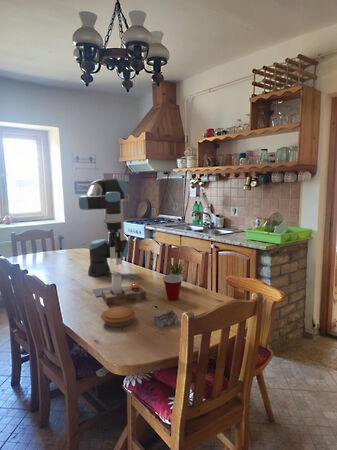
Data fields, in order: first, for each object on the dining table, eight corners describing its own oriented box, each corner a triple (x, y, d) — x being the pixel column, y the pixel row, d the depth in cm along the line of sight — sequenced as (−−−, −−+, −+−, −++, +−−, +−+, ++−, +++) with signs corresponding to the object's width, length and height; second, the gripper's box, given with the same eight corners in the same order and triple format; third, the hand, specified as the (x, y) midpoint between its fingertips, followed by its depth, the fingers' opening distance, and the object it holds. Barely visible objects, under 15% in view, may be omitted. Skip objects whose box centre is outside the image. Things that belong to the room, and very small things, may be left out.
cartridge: (112, 298, 173) (110, 273, 171) (121, 296, 174) (119, 272, 173) (114, 301, 168) (112, 275, 166) (123, 299, 170) (122, 274, 168)
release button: (130, 293, 176) (130, 283, 175) (138, 292, 178) (137, 282, 177) (132, 295, 172) (132, 286, 171) (140, 294, 174) (140, 285, 173)
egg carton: (173, 317, 148) (173, 309, 147) (180, 324, 141) (180, 315, 140) (151, 321, 144) (151, 312, 143) (157, 328, 137) (157, 319, 136)
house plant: (192, 283, 194) (192, 257, 192) (187, 291, 181) (187, 263, 178) (170, 282, 198) (169, 256, 195) (163, 289, 185) (163, 262, 182)
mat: (92, 290, 186) (92, 289, 186) (113, 287, 190) (112, 286, 190) (96, 297, 175) (96, 296, 175) (117, 293, 179) (117, 292, 179)
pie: (136, 313, 152) (136, 303, 151) (134, 328, 137) (134, 317, 136) (104, 314, 152) (104, 304, 151) (98, 330, 136) (97, 319, 136)
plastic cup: (165, 304, 163) (165, 281, 161) (160, 296, 173) (160, 275, 172) (185, 301, 166) (185, 279, 164) (179, 294, 176) (179, 273, 174)
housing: (102, 297, 175) (101, 290, 174) (138, 291, 182) (138, 284, 182) (107, 305, 163) (106, 298, 162) (146, 298, 171) (145, 291, 170)
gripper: (102, 219, 175) (104, 257, 178) (112, 224, 152) (114, 267, 155) (115, 218, 178) (117, 255, 181) (127, 223, 155) (129, 266, 158)
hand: (115, 261), depth 168 cm, fingers open, 13 cm apart
